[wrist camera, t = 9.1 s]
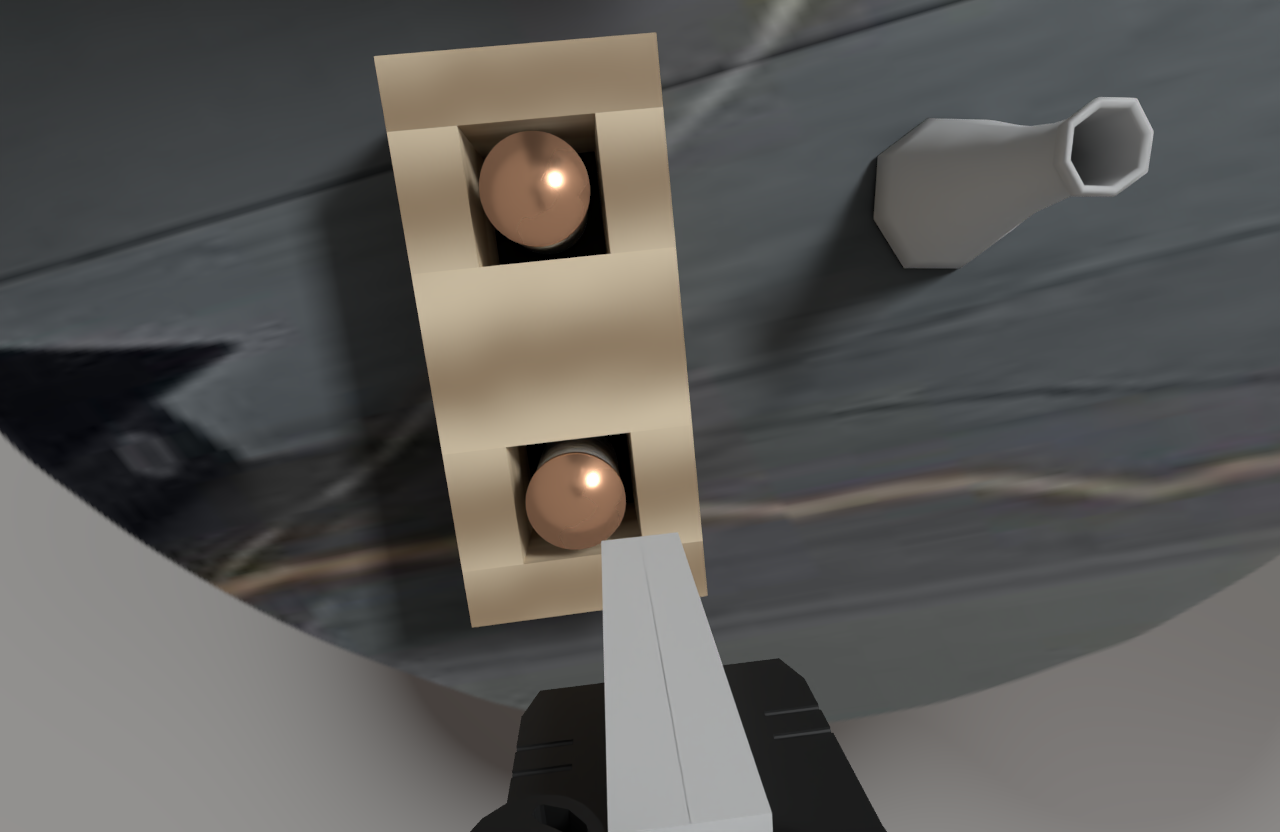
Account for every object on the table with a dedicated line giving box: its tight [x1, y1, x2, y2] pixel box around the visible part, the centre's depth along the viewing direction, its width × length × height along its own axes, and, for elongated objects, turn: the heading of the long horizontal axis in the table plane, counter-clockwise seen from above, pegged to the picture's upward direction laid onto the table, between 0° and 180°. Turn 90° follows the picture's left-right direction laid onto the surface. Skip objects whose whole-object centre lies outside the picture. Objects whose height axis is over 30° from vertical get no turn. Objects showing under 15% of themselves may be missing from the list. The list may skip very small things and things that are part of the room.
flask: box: [874, 97, 1154, 268], centre depth 25 cm, size 7×7×10 cm
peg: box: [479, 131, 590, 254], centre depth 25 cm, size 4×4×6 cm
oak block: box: [374, 33, 708, 628], centre depth 27 cm, size 22×10×6 cm, turn 6°
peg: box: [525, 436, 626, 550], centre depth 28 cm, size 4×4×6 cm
